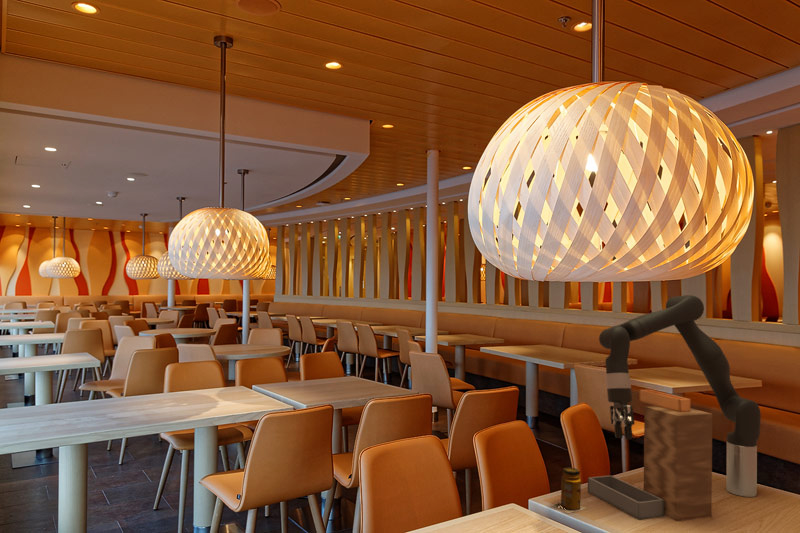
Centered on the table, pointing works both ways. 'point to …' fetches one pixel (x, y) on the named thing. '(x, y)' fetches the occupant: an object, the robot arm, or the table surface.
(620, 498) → the charcoal crate
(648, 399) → the narrow crate
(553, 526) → the table surface
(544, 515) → the table surface
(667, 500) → the walnut stand
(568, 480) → the condiment
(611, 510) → the table surface
